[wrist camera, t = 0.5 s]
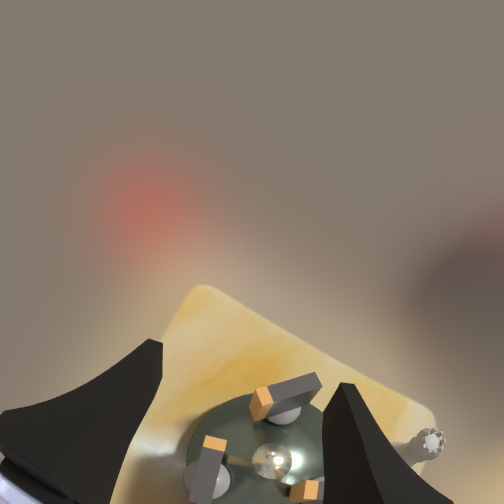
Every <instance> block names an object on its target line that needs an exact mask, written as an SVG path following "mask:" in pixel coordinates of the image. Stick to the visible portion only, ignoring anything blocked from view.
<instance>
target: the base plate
mask: <svg viewBox="0 0 504 504" xmlns="http://www.w3.org/2000/svg"><path fill="white" fill-rule="evenodd" d="M253 394H254V393H253ZM253 394H248V395H243V396H240V397H237V398H234V399H231V400H229V401H227V402H225V403H223V404H222V405H220V406H218V407H217V408H215V409H214V410H213V411H212V412H210V413H209V414H208V415H207V416H206V417H205V418H204V419H203V420H202V422H201V423H200V424H199V426H198V427H197V429H196V431H195V432H194V434H193V436H192V439H191V441H190V444H189V448H188V453H187V467H188V465H190V464H191V463H192V462H194V461H196V460H199V459H200V456H201V452H202V449H203V444H204V441H205V437H206V435H207V436H211V437H215V438H219V439H224V440H227V443H226V447H225V451H224V454H223V458H222V462H221V464H222V465H223V466H224V467H225V468H226V469H227V471H228V473H229V475H230V485H229V488H228V490H227V491H226V492H225V493H224V494H223V495H222V496H220V497H218V498H215V499H212V501H211V504H302V502H289V497H290V491H291V486H292V485H294V484H297V483H300V482H302V481H305V480H314V479H316V478H319V477H324V463H323V446H322V421H323V413H322V412H321V411H320V410H319V409H317V408H316V407H314V406H313V405H311V404H308V405H305V406H302V407H301V411H300V414H299V416H298V417H297V418H296V419H295V420H294V421H293V422H291V423H289V424H285V425H278V424H274V423H272V422H270V421H268V420H267V419H266V418H265V419H262V420H259V421H255V422H254V420H253V417H252V414H251V412H250V409H249V405H250V402H251V399H252V397H253Z"/></svg>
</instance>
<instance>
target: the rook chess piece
mask: <svg viewBox="0 0 504 504" xmlns="http://www.w3.org/2000/svg"><path fill="white" fill-rule="evenodd" d="M442 435H443V432H442V431H439V432H437V428H432V429H431V428H426V429H423V430H421V431H420V432H419V433H418V434H417V436H416V437H414V438H412V439H411V440H410V442H408V443H403V442H393V443H390V444H391V445H392V446H393V448H394V449H395V450H396V451H397V453H398V454H399V455H400V456H401V457H402V459H403V460H404V461H405V462H406V463H407V464H408V465H409V466H410V467H411V468H412V467H413V465H414V464H416V463H417V462H423V461H425V460H432V459H434V458H436V457H437V456H438V455H439V454H440V452H441V451H442V450H443V448H444V447H443V446H442V445H443V444H445V442H446V439H442V437H441V436H442Z"/></svg>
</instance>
